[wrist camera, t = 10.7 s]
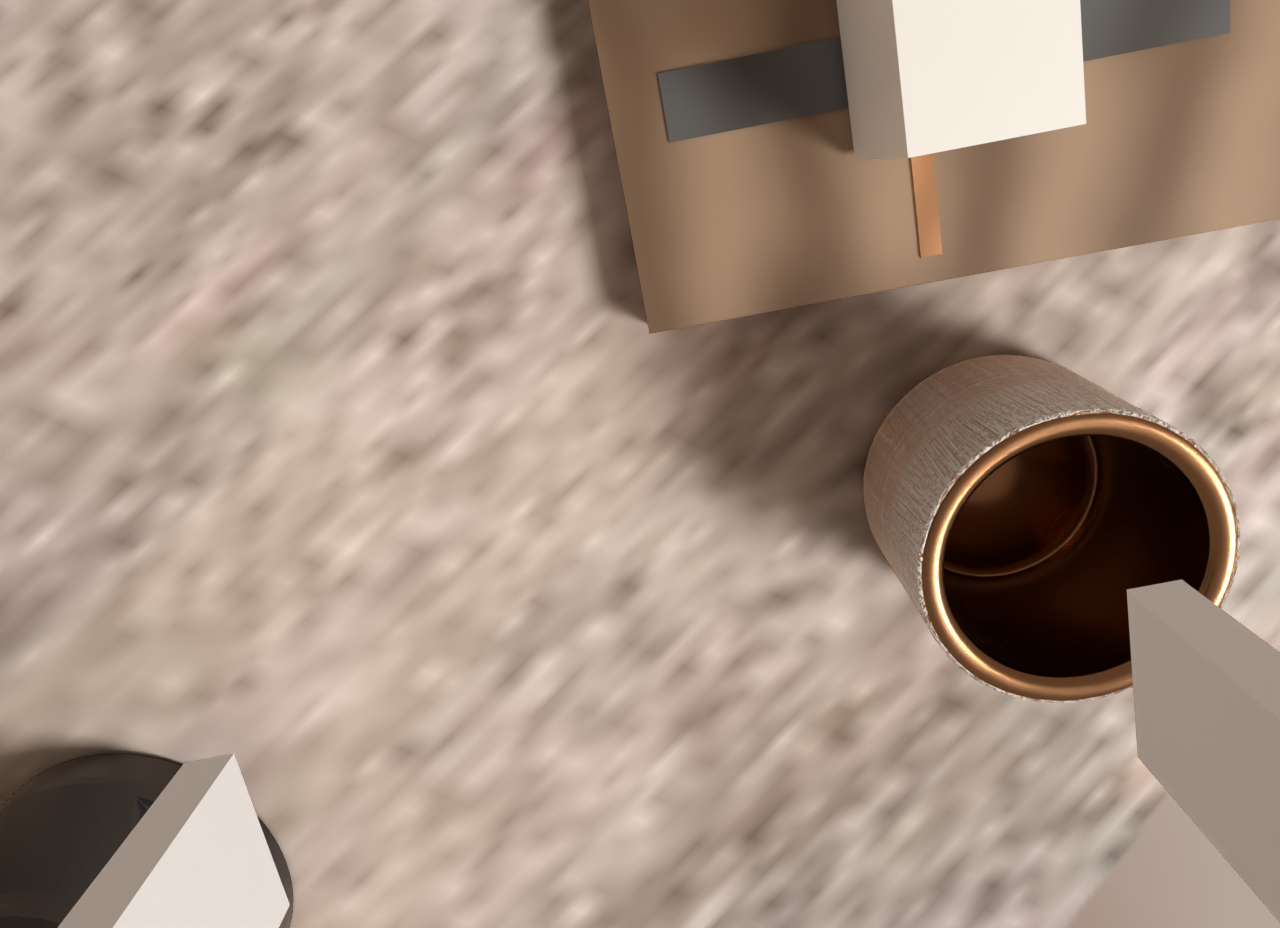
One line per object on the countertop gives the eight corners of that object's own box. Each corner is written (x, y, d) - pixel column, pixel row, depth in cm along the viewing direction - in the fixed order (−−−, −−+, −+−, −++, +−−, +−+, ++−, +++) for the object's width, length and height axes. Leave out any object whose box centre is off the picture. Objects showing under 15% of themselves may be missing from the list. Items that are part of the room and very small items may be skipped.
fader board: (649, 324, 40) (649, 333, 38) (570, -108, 35) (564, -126, 33) (1304, 205, 38) (1343, 207, 36) (1309, -269, 33) (1355, -299, 31)
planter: (846, 586, 43) (896, 700, 34) (873, 344, 40) (936, 398, 31) (1091, 597, 43) (1207, 714, 34) (1138, 356, 40) (1279, 413, 31)
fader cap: (854, 159, 35) (908, 158, 28) (834, -20, 34) (884, -73, 26) (993, 132, 35) (1086, 124, 27) (979, -50, 33) (1074, -113, 26)
